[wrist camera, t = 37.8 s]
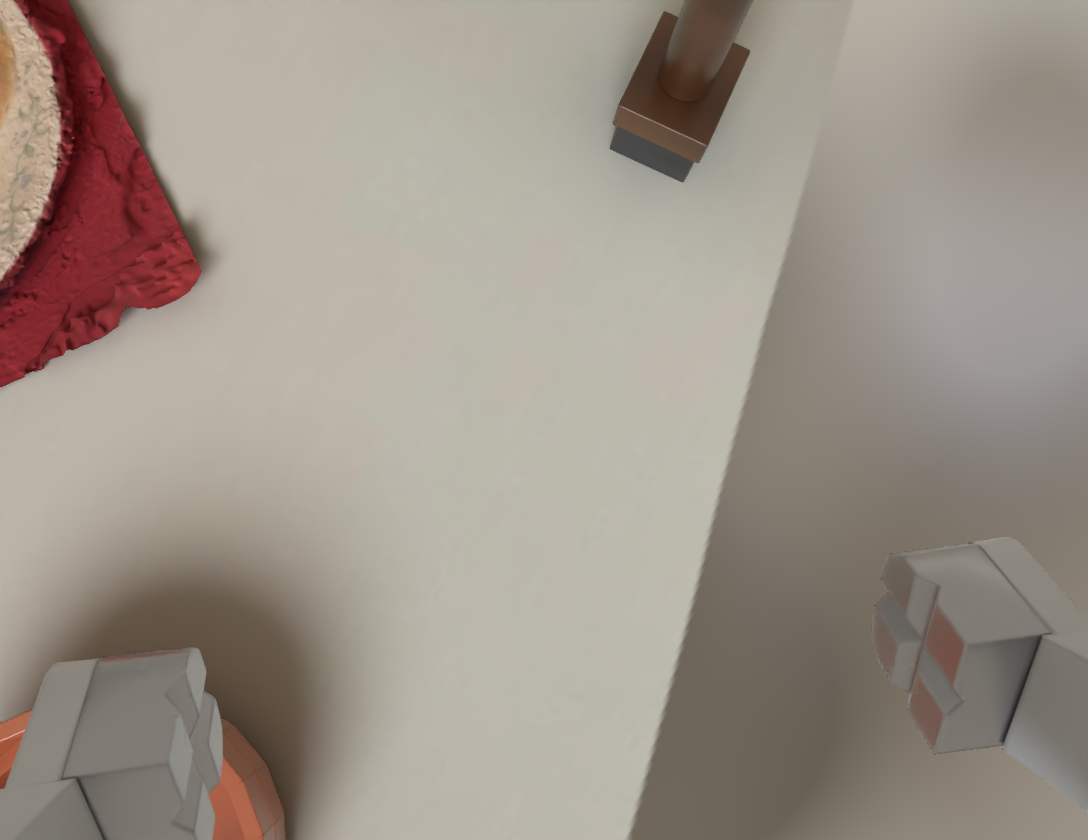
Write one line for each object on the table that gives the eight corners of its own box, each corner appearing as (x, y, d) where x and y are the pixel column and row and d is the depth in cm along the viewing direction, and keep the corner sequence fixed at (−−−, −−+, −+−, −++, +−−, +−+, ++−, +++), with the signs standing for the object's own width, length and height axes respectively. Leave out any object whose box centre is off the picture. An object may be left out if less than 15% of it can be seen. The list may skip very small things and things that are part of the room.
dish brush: (646, 62, 47) (745, -226, 31) (726, 98, 47) (865, -171, 31) (603, 151, 45) (684, -103, 30) (685, 188, 45) (809, -46, 30)
